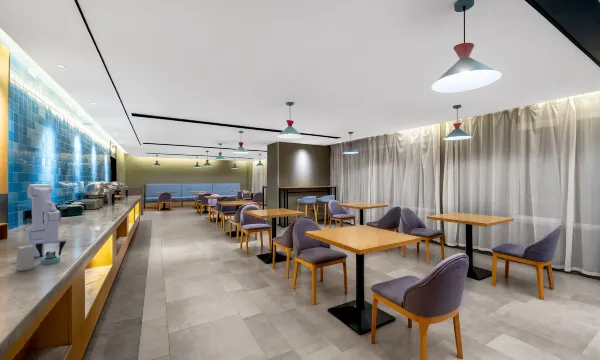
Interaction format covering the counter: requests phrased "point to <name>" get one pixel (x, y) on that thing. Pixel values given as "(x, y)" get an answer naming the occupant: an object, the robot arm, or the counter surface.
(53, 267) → the counter surface
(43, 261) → the teal bead ring
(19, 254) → the beverage can
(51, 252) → the steel peg
